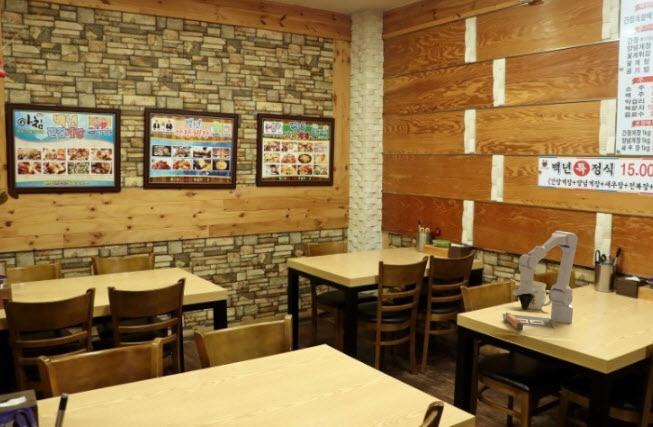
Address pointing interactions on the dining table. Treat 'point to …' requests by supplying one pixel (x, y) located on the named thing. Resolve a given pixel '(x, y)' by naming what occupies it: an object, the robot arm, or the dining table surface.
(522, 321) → the label
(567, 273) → the robot arm
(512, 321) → the swing bar
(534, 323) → the label
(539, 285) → the white floral mug
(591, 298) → the dining table surface
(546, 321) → the board
